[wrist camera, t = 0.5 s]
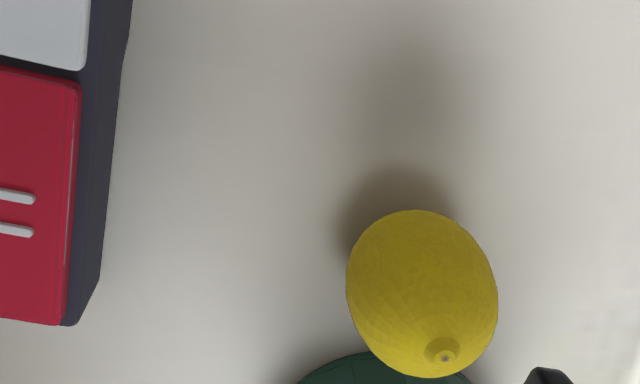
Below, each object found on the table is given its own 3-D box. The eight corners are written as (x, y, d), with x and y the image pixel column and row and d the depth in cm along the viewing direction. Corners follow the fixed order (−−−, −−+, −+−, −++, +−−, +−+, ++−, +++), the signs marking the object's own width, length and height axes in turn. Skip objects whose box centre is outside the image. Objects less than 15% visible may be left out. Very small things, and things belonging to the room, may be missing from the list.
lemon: (486, 220, 25) (567, 339, 18) (407, 306, 27) (452, 446, 20) (389, 154, 24) (436, 256, 17) (312, 250, 26) (323, 380, 18)
